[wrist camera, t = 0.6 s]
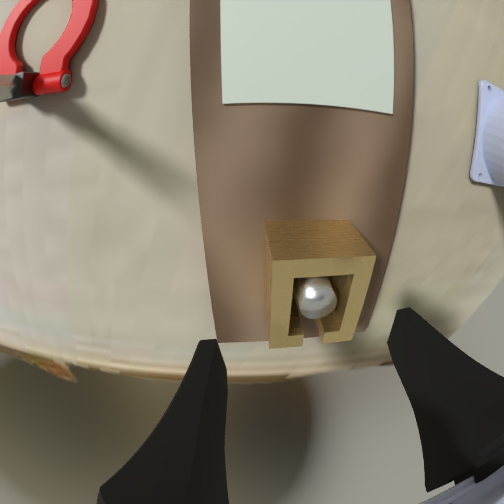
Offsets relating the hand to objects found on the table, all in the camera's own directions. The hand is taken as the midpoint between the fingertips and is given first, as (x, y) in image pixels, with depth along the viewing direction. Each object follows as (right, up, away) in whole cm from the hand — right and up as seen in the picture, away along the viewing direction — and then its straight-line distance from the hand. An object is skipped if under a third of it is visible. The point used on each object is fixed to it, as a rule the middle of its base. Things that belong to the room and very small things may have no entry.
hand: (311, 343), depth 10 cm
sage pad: (+1, +15, 0) cm, 15 cm away
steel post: (+1, +3, +7) cm, 8 cm away
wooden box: (+1, +3, +7) cm, 8 cm away
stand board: (+1, +9, +5) cm, 10 cm away
